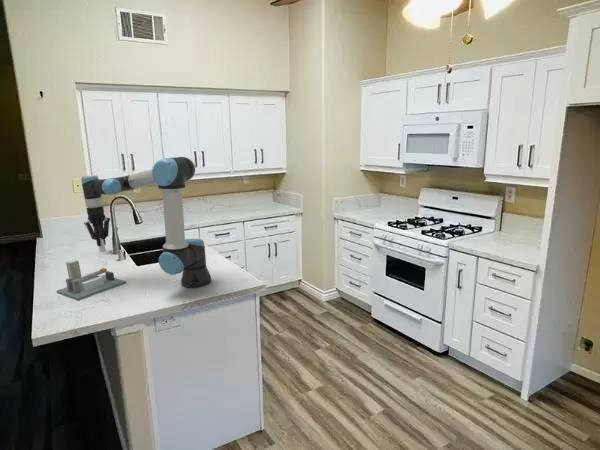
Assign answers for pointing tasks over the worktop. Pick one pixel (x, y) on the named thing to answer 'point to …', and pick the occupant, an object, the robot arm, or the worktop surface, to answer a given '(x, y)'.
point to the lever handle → (92, 275)
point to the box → (73, 269)
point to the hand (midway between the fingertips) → (102, 251)
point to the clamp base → (93, 291)
